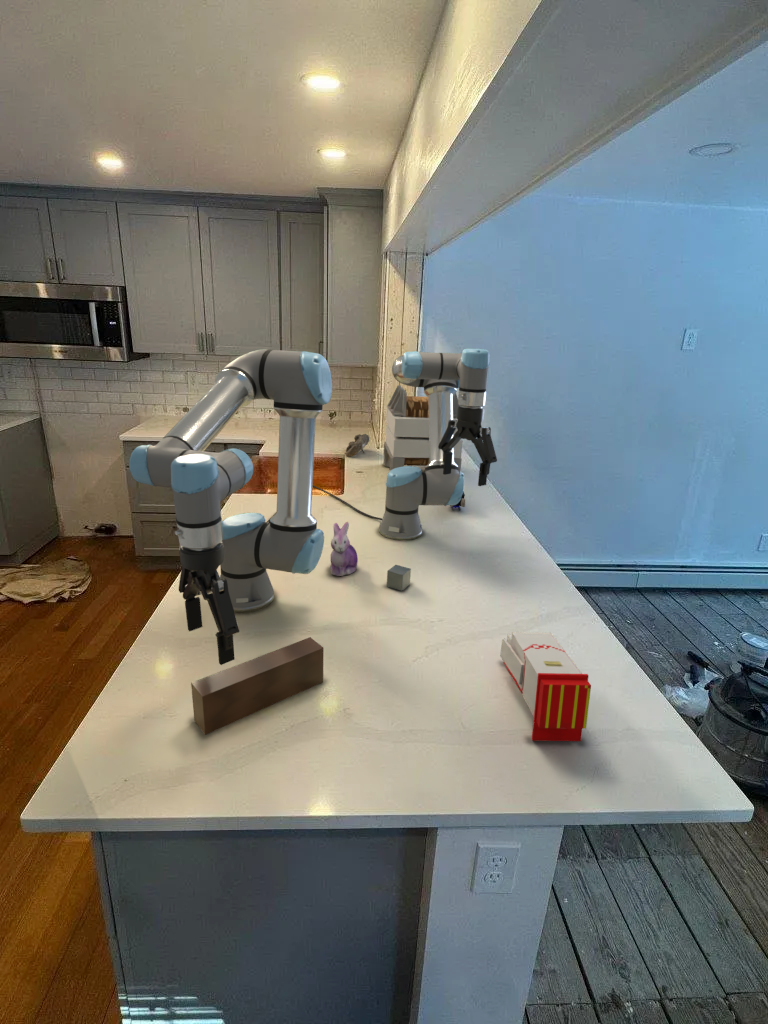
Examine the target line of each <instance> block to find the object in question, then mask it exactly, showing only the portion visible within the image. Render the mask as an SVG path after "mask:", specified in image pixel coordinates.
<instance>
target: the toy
mask: <svg viewBox="0 0 768 1024" xmlns="http://www.w3.org/2000/svg"><path fill="white" fill-rule="evenodd" d="M506 636H507V637H506V638H505V637H502V640H501V647H500V655H499V657H500V658H501V660H502V663H503V664H504V665H503V666H505V668H506V670H507V671H508V673H509V676H510V677H511V678H512V681H514V683H515V685H516V687H517V688H518V690H519V692H520V693H521V695H522V697H523V699H524V702H525V703H526V705H527V708H529V711H530V713H531V715H532V717H533V721H532V732H531V740H532V741H534V742H582V736H583V735H582V733H583V729H585V730H586V729H587V723H588V714H589V706H590V705H589V704H590V699H591V691H592V690H591V689H592V684H591V683H590V682H589V674H588V673H583V672H581V670H580V668H578V666H577V664H575V662H574V661H573V659H572V658H571V657H570V656H569V654H568V653H567V652H566V650H565V649H564V647H563V646H562V645H561V644H560V642H559V641H558V639H557V638H556V637H555V636H554V635H553V633H551V632H525V631H523V632H522V631H521V632H519V631H512V632H511V633H507V635H506Z"/></svg>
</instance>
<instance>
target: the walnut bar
mask: <svg viewBox="0 0 768 1024" xmlns="http://www.w3.org/2000/svg"><path fill="white" fill-rule="evenodd" d="M324 651H325V650H324V646H323V645H321V644H320V643H318V642H317V641H316V640H315V639H313V638H312V637H311V636H310V637H307V638H304V639H301V640H299V641H296V642H294V643H290V644H288V645H286V646H282V647H280V648H278V649H275V650H273V651H270V652H268V653H265V654H262V655H260V656H257V657H254V658H251V659H249V660H247V661H244V662H241V663H239V664H236V665H233V666H231V667H229V668H226V669H223V670H220V671H218V672H216V673H215V672H214V673H212V674H210V675H208V676H204V677H203V678H199V679H197V680H195V681H191V682H190V683H191V684H190V688H191V698H192V709H193V720H194V722H195V723H196V725H197V726H198V728H199V729H200V730H201V731H202V733H203V734H204V735H205V736H206V735H209V734H211V733H213V732H215V731H218V730H220V729H222V728H224V727H226V726H229V725H231V724H233V723H235V722H238V721H240V720H242V719H244V718H247V717H249V716H251V715H253V714H255V713H258V712H260V711H263V710H264V709H267V708H269V707H271V706H273V705H275V704H277V703H280V702H282V701H284V700H287V699H289V698H291V697H294V696H296V695H298V694H300V693H303V692H304V691H307V690H309V689H311V688H313V687H315V686H318V685H320V684H322V683H324Z"/></svg>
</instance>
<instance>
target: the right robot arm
mask: <svg viewBox="0 0 768 1024" xmlns="http://www.w3.org/2000/svg"><path fill="white" fill-rule="evenodd" d="M490 355H491V354H490V351H489V350H488V349H483V348H464V349H463V350H462V352H457V353H456V352H430V351H429V352H427V351H415V350H413V351H405V352H404V353H403V354H401V355H400V356H398V357H397V358H396V359H395V360H394V361H393V363H392V366H391V373H392V376H393V378H394V379H395V380H396V381H397V383H400V384H402V385H405V386H408V387H412V388H413V387H414V388H423V394H424V395H425V397H428V405H429V464H428V465H427V466H424V471H422V469H421V467H419V466H407V465H404V466H403V467H398V468H394V469H392V470H391V471H390V470H388V473H387V475H386V480H385V481H386V482H385V487H386V488H385V489H386V490H385V504H384V505H385V507H384V508H385V509H384V513H383V515H382V517H378V516H373V515H370V514H369V513H366V512H363V510H362V511H361V510H360V509H358V508H356V507H354V506H353V505H352V504H350V503H348V502H347V501H345V500H343V499H342V498H340V497H338V496H336V495H335V494H333V493H331V492H328V491H327V490H325V489H322V488H320V487H318V486H316V485H313V486H312V488H314V489H316V490H319V491H321V492H323V493H325V494H327V495H329V496H330V497H333V498H335V499H336V500H338V501H340V502H342V503H343V504H345V505H347V506H348V507H350V508H351V509H353V510H354V511H356V512H358V513H359V514H362V515H364V516H365V517H368V518H370V519H373V520H374V519H375V520H379V521H381V522H379V527H378V533H379V534H380V535H381V536H382V537H385V538H387V539H389V540H395V541H410V540H415V539H418V538H420V537H421V536H422V535H423V525H422V524H421V518H420V515H419V507H420V506H444V507H446V506H447V507H448V506H449V505H456V504H458V503H459V501H460V500H461V497H462V494H463V491H464V486H465V474H464V473H463V472H462V471H461V472H459V471H458V465H456V464H455V463H454V446H455V445H456V444H457V443H458V442H459V441H460V440H467V441H470V442H471V443H472V444H473V445H474V447H475V449H476V451H477V453H478V455H479V458H480V460H481V462H480V463H479V470H478V480H477V482H478V483H477V486H478V487H483V486H486V485H487V481H488V475H490V470H491V464H492V463H493V464H494V463H497V462H498V457H497V455H496V450H495V446H494V443H493V439H492V435H491V434H492V428H491V427H490V426H486V427H483V426H482V423H483V421H484V418H485V417H484V416H485V408H484V407H485V406H486V397H487V386H488V378H489V377H488V376H489V368H490V363H491V362H490ZM457 389H458V390H457ZM457 391H458V395H457V398H458V404H459V405H460V406H458V407H457V416H456V418H457V420H458V421H457V420H456V419H455V420H453V395H454V394H455V393H456V394H457ZM456 427H457V429H458V431H457V432H456V433H455V434H454V436H453V433H454V431H455V429H456Z"/></svg>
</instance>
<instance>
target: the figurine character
mask: <svg viewBox="0 0 768 1024" xmlns="http://www.w3.org/2000/svg"><path fill="white" fill-rule="evenodd" d="M465 496H466V494H465V492H464V490H463V494H462V497H461V500H460V501H459V503H458V504H456V505H448V506H449V508H450V509H451V511H454V509H458V511H461V510H462V509H461V508H465V505H466V497H465Z"/></svg>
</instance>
